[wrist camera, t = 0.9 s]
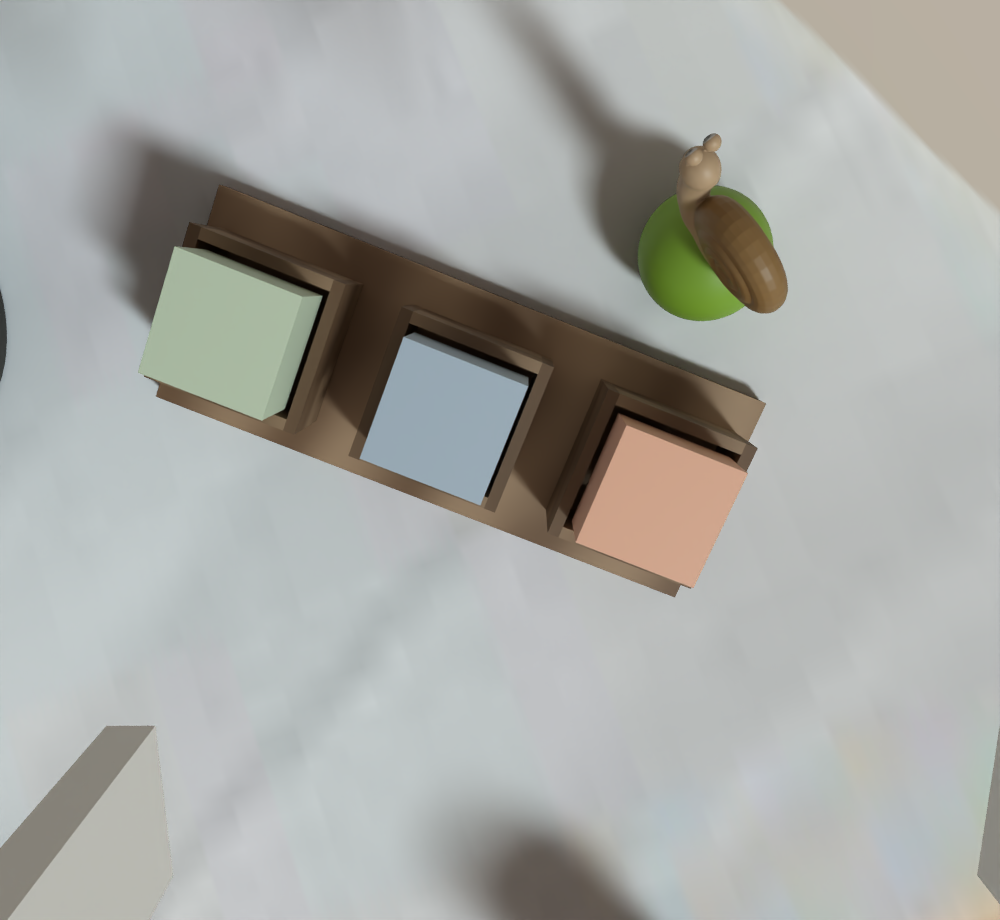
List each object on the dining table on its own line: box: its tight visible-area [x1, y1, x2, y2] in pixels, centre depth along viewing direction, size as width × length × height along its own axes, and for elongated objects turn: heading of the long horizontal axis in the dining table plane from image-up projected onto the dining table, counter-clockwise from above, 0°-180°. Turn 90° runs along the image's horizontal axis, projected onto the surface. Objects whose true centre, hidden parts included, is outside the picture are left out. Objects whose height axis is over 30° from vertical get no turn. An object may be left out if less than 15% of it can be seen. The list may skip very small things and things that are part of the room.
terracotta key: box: [572, 413, 748, 588], centre depth 33 cm, size 5×5×3 cm
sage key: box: [138, 246, 323, 421], centre depth 32 cm, size 5×5×3 cm
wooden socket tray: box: [144, 185, 766, 597], centre depth 36 cm, size 26×10×5 cm, turn 69°
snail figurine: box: [638, 133, 788, 321], centre depth 30 cm, size 5×6×12 cm
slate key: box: [360, 332, 528, 505], centre depth 32 cm, size 5×5×3 cm
